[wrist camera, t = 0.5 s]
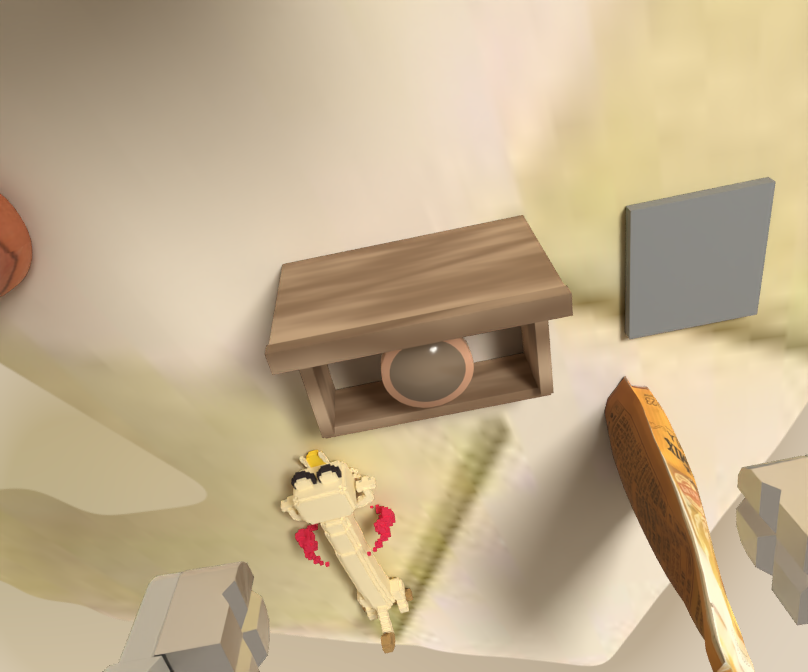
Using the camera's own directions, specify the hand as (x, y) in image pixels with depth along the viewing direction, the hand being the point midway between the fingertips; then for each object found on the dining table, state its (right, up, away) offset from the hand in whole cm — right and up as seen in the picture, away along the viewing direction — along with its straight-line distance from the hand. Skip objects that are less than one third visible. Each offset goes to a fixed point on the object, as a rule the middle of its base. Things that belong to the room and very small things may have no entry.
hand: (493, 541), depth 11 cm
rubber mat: (+22, +10, +43) cm, 49 cm away
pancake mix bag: (+21, -7, +53) cm, 58 cm away
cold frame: (0, +5, +43) cm, 44 cm away
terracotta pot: (0, +5, +43) cm, 44 cm away
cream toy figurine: (-7, -16, +57) cm, 60 cm away
